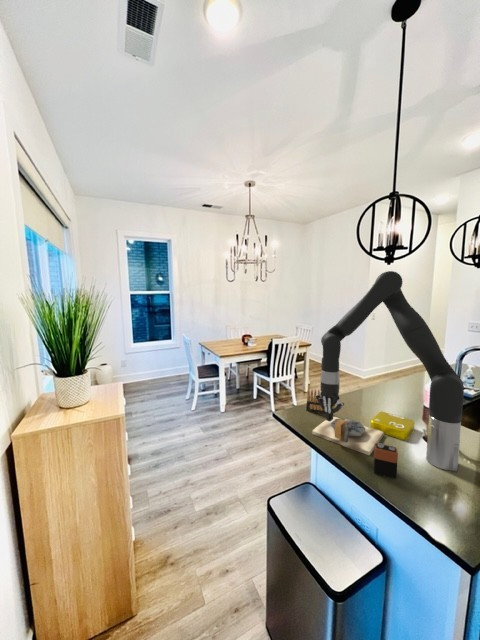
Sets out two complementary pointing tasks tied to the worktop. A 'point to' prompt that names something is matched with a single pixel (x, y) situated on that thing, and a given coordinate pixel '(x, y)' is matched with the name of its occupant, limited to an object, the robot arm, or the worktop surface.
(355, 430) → the multicoloured piece
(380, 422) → the element tile
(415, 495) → the worktop surface
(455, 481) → the worktop surface
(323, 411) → the ammunition clip
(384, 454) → the battery
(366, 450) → the dial base
